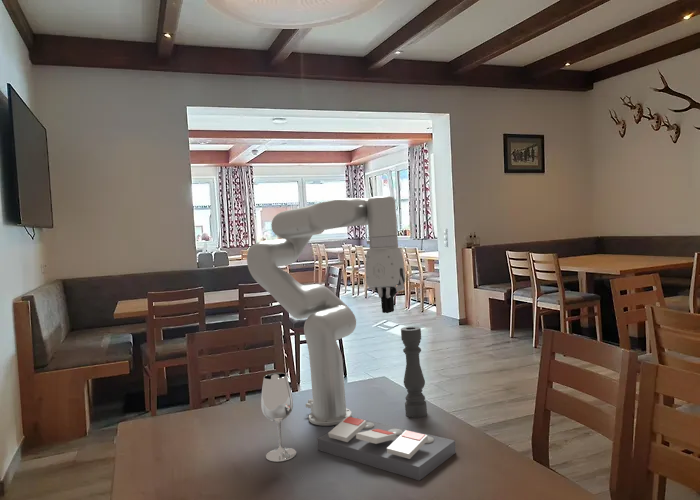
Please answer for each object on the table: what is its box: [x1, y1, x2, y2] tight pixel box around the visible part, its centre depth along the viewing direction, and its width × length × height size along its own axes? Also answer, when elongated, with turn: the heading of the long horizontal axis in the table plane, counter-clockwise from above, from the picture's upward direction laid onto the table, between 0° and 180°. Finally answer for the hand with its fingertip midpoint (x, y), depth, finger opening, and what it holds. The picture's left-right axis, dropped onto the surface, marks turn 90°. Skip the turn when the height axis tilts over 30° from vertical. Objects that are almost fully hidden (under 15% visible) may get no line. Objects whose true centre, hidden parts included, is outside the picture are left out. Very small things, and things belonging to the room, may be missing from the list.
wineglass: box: [260, 372, 297, 463], centre depth 131 cm, size 8×8×20 cm
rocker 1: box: [327, 416, 367, 442], centre depth 132 cm, size 6×8×1 cm
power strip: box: [316, 417, 457, 481], centre depth 131 cm, size 35×16×3 cm, turn 50°
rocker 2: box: [356, 429, 396, 444], centre depth 127 cm, size 6×8×1 cm
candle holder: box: [400, 326, 428, 419], centre depth 152 cm, size 6×6×25 cm
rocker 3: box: [387, 430, 428, 459], centre depth 121 cm, size 6×8×1 cm
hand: (388, 312), depth 140 cm, fingers closed
